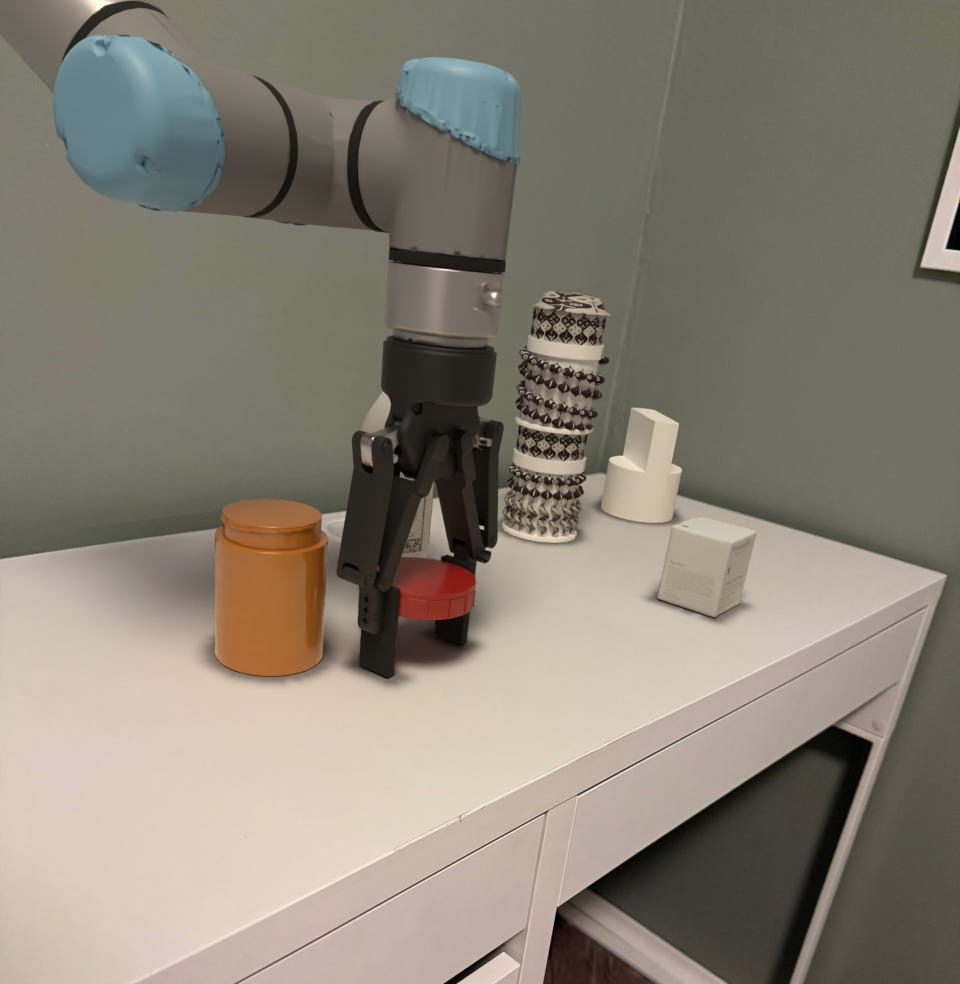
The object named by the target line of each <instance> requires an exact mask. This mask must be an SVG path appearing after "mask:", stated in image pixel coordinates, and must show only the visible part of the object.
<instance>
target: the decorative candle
mask: <svg viewBox="0 0 960 984" xmlns="http://www.w3.org/2000/svg"><path fill="white" fill-rule="evenodd" d="M531 306H533V309H532V317H531V324H530V325H531V326H530V333H529V335H527V342H526V344H525V345H524V346H523V347H522V348H520V349H519V352H518V353H519V355H520V357H521V359H522V360H523V361H522V362H521V363H519V365H518V366H517V369H518V373H519V374H520V375H521V376H523V379H522V380H520V382H519V383H518V384H517V385H516V390H517V392H518V394H519V397H518V398H516V399H515V407H516V409H517V410H519V411H520V413H519V414H518V415H517V416H515V417H514V422H515V423H516V424H517V425H518V429H517V435H516V443H515V447H514V448H513V452H512V453H513V454H512V463H510V464H509V465H508V470H509V473H510V474H511V475H512V476H510V477H509V478H507V480H506V483H507V487H508V488H509V489H510V490H509V491H508V492H507V493H506V494H505V496H504V502H505V505H506V506H505V507H504V508H503V510H502V515H503V517H504V520H503V521H502V523H501V527H502V529H503V531H504V532H506V533H508V534H509V535H510V536H514V537H517V538H520V539H522V540H527V541H532V542H538V543H548V544H549V543H551V544H552V543H553V544H557V543H567V542H570V541H573V540H575V539H576V538H577V536H578V531H577V530H576V529H577V527H578V525H580V519H579V514H580V513H581V512H582V509H583V508H582V503H581V501H580V500H579V499H578V498H581V497H582V496H583V495H584V494H585V490H584V488H583V486H582V484H583V483H584V482H585V481H587V475H586V473H585V472H584V471H585V470H586V465H587V456H586V450H587V446H588V437H589V435H590V434H592V433H593V432H594V430H595V426H594V425H592V423H591V422H590V421H592V420H594V419H596V418H597V417H598V416H599V414H598V413H599V412H598V411H596V410H595V408H593V402H595V401H597V400H599V399H602V397H603V393H602V392H601V391H600V390H599V389H598V388H596V387H597V386H600V385H603V384H604V383H605V382H606V379H605V377H604V375H602V374H601V373H600V372H598V370H599V369H598V368H599V367H603V366H605V365H607V364H608V363H610V359H609V357H608V356H604V349H605V344H604V336H605V332H606V322H607V318H608V316H611V313H608V312H607V310H606V308H605V305H604V302H603V300H602V299H601V298H600V297H599V296H596V295H592V294H586V293H579V292H570V291H563V290H561V291H560V290H548V291H546V292H544V293H543V294H542V296H541V297H540V299H539V300H538V301H537V302H536V303H534V304H531Z"/></svg>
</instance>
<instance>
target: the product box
mask: <svg viewBox="0 0 960 984" xmlns="http://www.w3.org/2000/svg"><path fill="white" fill-rule="evenodd" d="M756 537H757V530H754V529H750V528H749V527H744V526H741V525H736V524H732V523H728V522H724V521H720V520H716V519H712V518H709V517H705V516H697V517H693V518H690V519H685V520H684V521H682V522H679V523H676V524H674V525H672V526H671V529H670V535H669V539H668V544H667V550H666V553H665V559H664V564H663V567H662V572H661V576H660V577H661V578H660V583H659V587H658V592H657V599H658V600H661V601H663V602H666V603H669V604H671V605H675V606H678V607H681V608H684V609H687V610H690V611H694V612H696V613H700V614H702V615H705V616H707V617H712V618H717V617H718V616H719V615H722V614H723V613H724V612H726V611H728V610H730V609H732V608H734V607H736V606H739V604H740V603H741V600H742V596H743V591H744V587H745V583H746V579H747V574H748V569H749V565H750V561H751V557H752V553H753V548H754V546H755V545H754V544H755V540H756Z"/></svg>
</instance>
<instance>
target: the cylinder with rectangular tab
mask: <svg viewBox="0 0 960 984" xmlns="http://www.w3.org/2000/svg"><path fill="white" fill-rule="evenodd" d="M679 428H680V423H679V422H677V421H675V419H674V420H673V419H672V418H670V417H668V416H667V415H665V414H664V413H663V414H662V413H661V412H660V411H657V410H656V409H654V408H653V409H652V408H643V407H631V408H630V413H629V419H628V424H627V430H626V436H625V440H624V441H625V442H624V447H623V453H622V455H615V456H611V457H609V459H608V463H607V468H606V473H605V481H604V486H603V492H602V498H601V505H600V508H601V510H602V511H603V512H604V513H606V514H608V515H611V516H612V517H616V518H620V519H622V520H627V521H631V522H637V523H646V524H647V523H648V524H661V523H667V522H670V521H672V520H673V517H674V512H675V507H676V503H677V498H678V493H679V486H680V483H681V478H682V473H683V468H682V467H680V466H678V465H676V464H674V463H673V459H674V458H673V457H674V453H675V448H676V443H677V438H678V432H679Z"/></svg>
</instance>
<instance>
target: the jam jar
mask: <svg viewBox="0 0 960 984" xmlns="http://www.w3.org/2000/svg"><path fill="white" fill-rule="evenodd" d="M220 515H221V516H220V519H219V520H220V522H221V524H222V525H220V526H219V527H218V528H216V530H215V532H214V654H215V657H216V659H217V661H218V662H219V663H220V664H222V665H223V666H224V667H226V668H228V669H230V670H233V671H235V672H238V673H242V674H246V675H252V676H259V677H280V676H289V675H296V674H299V673H302V672H306V671H309V670H310V669H312V668H314V667H316V666H317V665H318V664H319V663H320V662H321V660H322V658H323V655H324V635H325V634H324V633H325V617H326V616H325V614H326V592H327V573H328V554H329V553H328V550H329V536H328V535H327V533H326V532H325V531H323V530H322V526H323V525H322V524H323V523H322V522H323V514H322V513H321V511H319V509H317V508H315V507H313V506H311V505H309V504H306V503H303V502H298V501H294V500H287V499H281V498H280V499H279V498H250V499H242V500H237V501H233V502H231V503H228V504H226V505H225V506H224V507H223V508H222V513H221V514H220Z"/></svg>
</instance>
